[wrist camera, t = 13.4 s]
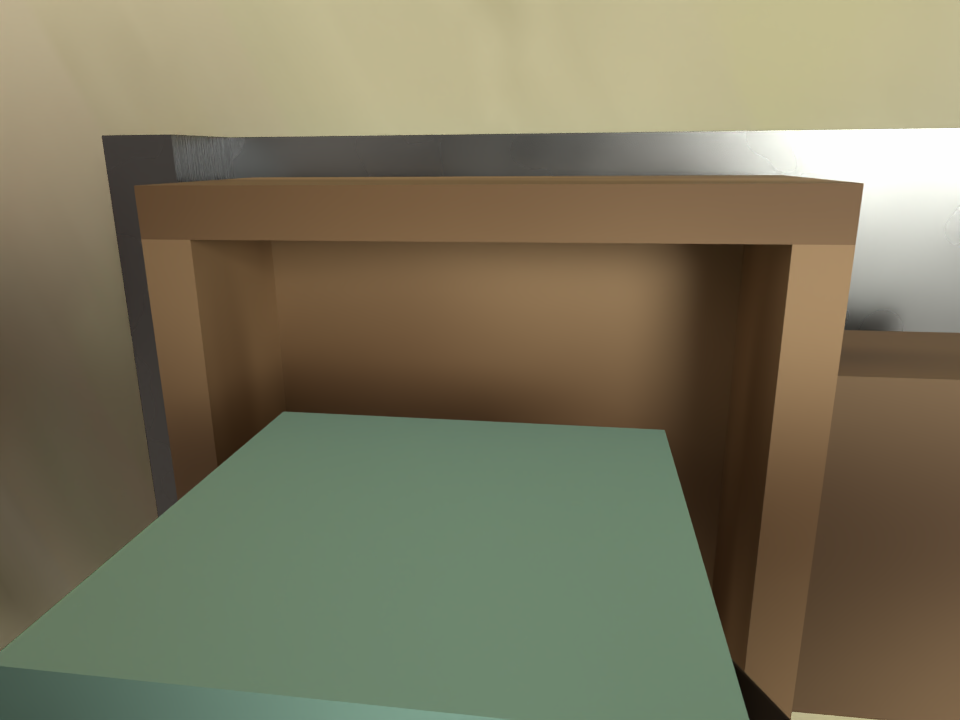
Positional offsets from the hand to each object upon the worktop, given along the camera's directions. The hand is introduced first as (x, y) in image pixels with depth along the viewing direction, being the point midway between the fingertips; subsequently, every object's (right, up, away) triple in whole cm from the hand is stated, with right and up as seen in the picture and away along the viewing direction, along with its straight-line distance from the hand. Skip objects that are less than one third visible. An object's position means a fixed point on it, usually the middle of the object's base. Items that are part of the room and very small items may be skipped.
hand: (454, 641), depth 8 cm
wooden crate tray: (+2, +2, +6) cm, 6 cm away
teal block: (0, 0, +1) cm, 1 cm away
